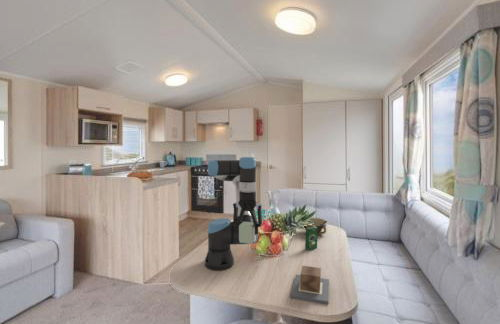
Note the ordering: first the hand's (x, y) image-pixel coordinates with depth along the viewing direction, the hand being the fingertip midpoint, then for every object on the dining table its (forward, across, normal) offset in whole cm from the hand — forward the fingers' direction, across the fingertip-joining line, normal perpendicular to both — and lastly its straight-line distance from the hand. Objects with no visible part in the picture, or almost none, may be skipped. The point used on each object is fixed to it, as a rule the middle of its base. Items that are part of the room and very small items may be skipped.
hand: (247, 240), depth 123 cm
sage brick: (0, 0, 0) cm, 0 cm away
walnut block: (+18, +29, 0) cm, 34 cm away
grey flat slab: (+19, +29, 0) cm, 35 cm away
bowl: (+19, +26, +74) cm, 81 cm away
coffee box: (+19, +26, +46) cm, 56 cm away
